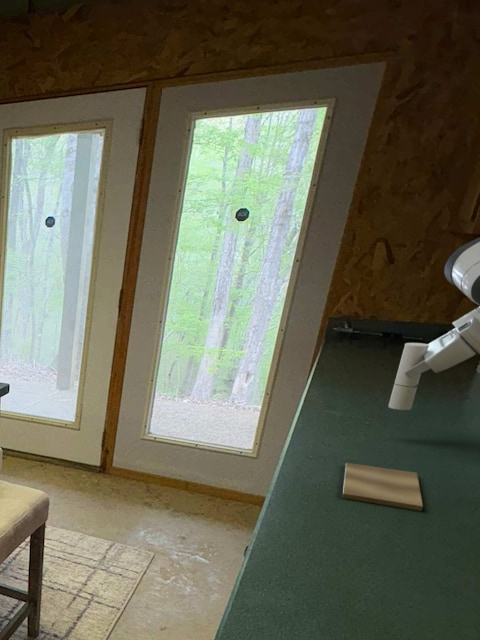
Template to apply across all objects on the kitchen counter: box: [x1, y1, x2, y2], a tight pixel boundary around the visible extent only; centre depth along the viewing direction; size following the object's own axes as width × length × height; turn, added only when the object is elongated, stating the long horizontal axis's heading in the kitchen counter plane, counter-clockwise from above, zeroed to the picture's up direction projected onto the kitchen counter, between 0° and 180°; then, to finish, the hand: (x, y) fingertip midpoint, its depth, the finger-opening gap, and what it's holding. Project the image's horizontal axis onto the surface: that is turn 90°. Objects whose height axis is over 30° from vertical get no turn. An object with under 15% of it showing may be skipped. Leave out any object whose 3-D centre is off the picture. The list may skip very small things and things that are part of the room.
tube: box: [388, 342, 429, 411], centre depth 146 cm, size 4×4×15 cm
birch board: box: [341, 462, 424, 512], centre depth 125 cm, size 20×12×1 cm, turn 144°
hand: (406, 373), depth 146 cm, fingers closed on tube, 4 cm apart
